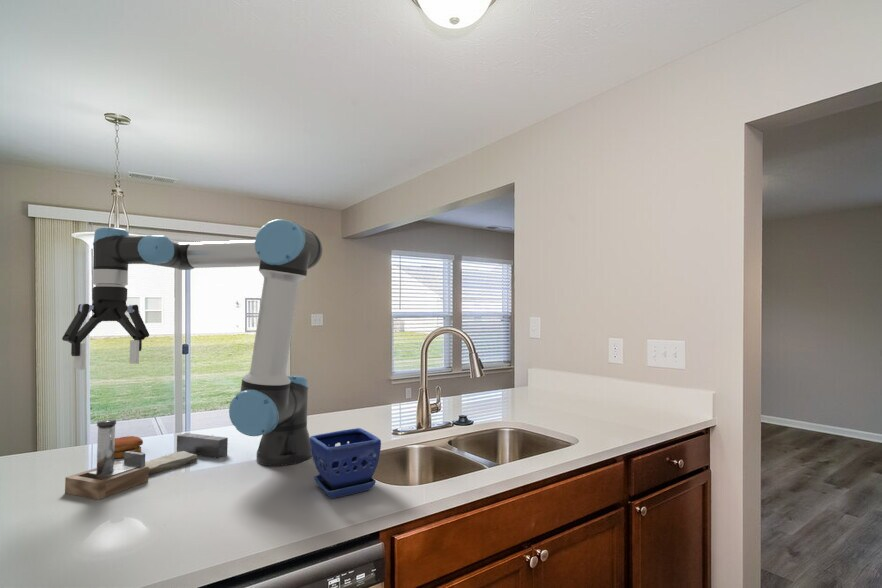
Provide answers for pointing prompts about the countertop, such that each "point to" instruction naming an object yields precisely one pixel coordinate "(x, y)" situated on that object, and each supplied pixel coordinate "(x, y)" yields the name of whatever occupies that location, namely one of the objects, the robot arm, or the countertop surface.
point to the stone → (170, 461)
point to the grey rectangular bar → (202, 445)
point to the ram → (112, 454)
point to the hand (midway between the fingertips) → (108, 366)
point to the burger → (126, 445)
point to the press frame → (104, 483)
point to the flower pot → (345, 461)
